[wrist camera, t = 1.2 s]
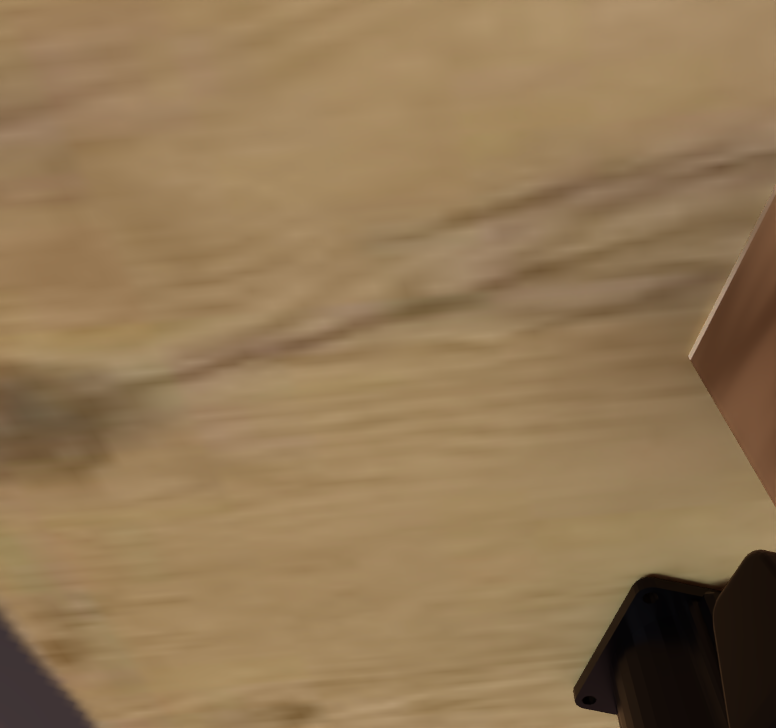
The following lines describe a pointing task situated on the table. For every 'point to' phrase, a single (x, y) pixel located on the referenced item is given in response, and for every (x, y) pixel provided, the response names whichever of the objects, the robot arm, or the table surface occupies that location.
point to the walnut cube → (746, 349)
